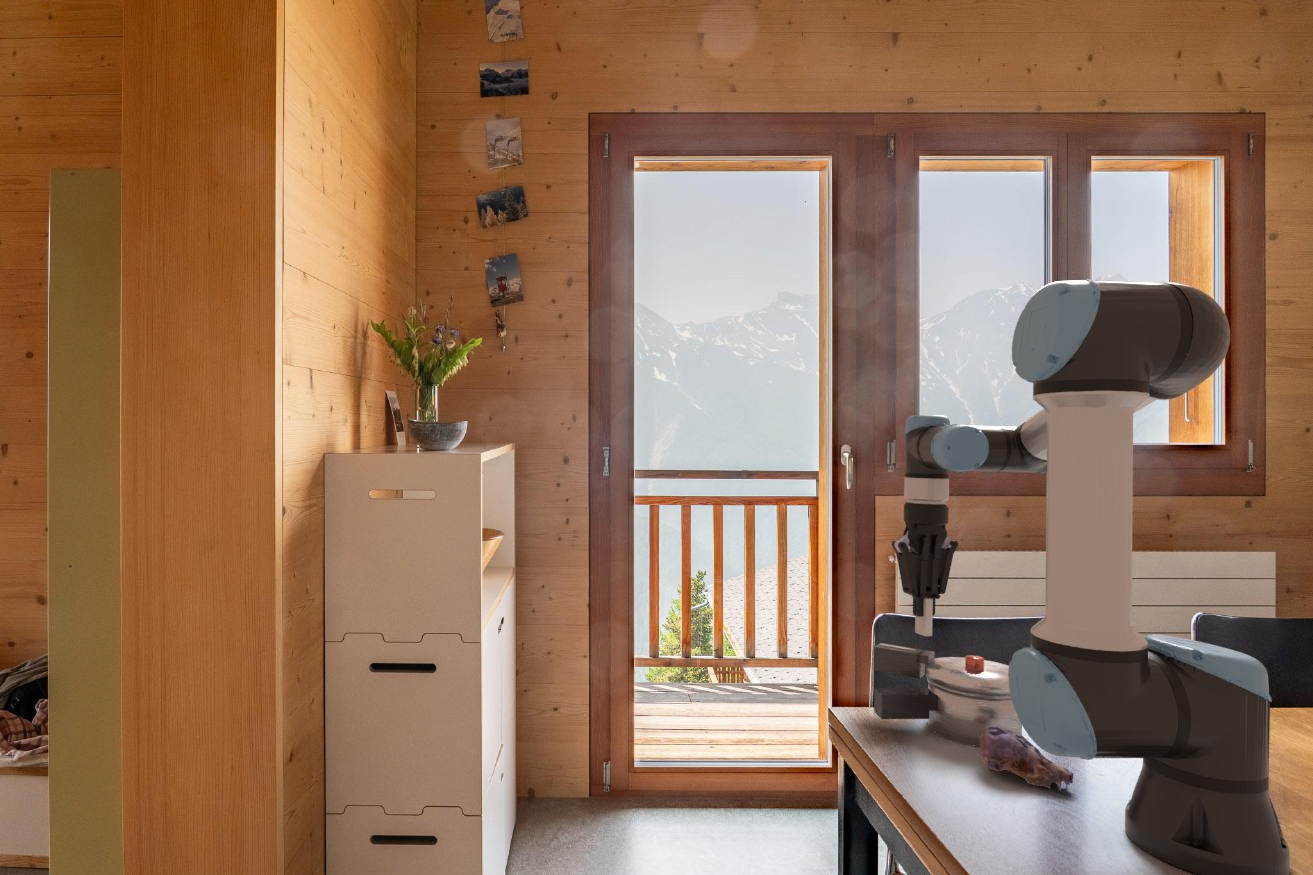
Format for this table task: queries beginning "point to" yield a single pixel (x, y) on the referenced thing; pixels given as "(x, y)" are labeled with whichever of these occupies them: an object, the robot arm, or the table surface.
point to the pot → (949, 710)
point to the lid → (944, 669)
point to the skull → (1020, 758)
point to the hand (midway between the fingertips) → (923, 634)
